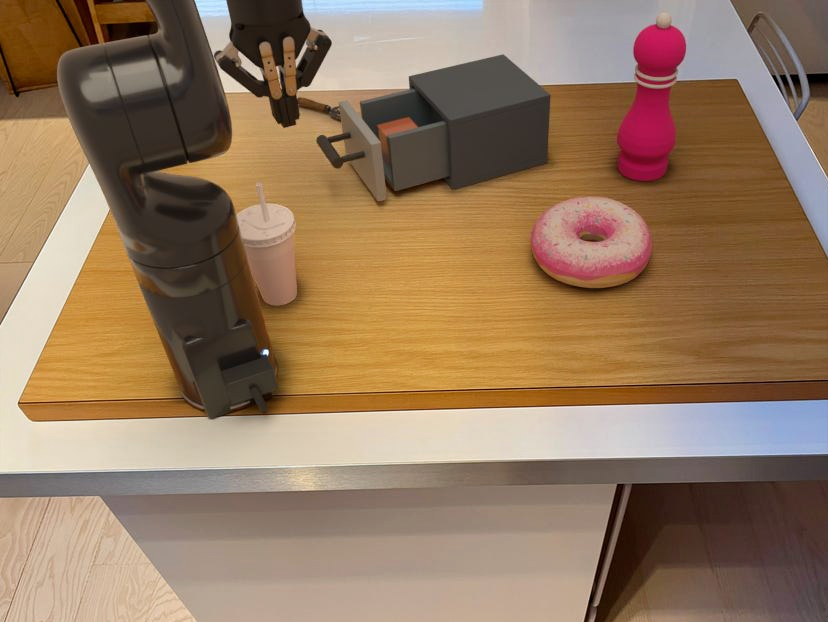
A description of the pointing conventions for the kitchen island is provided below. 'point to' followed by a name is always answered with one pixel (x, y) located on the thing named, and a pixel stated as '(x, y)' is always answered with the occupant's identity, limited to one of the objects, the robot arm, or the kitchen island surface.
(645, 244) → the donut
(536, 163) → the cabinet
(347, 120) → the drawer
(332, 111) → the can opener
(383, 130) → the block
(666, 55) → the pepper mill
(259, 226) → the smoothie
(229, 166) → the kitchen island surface
